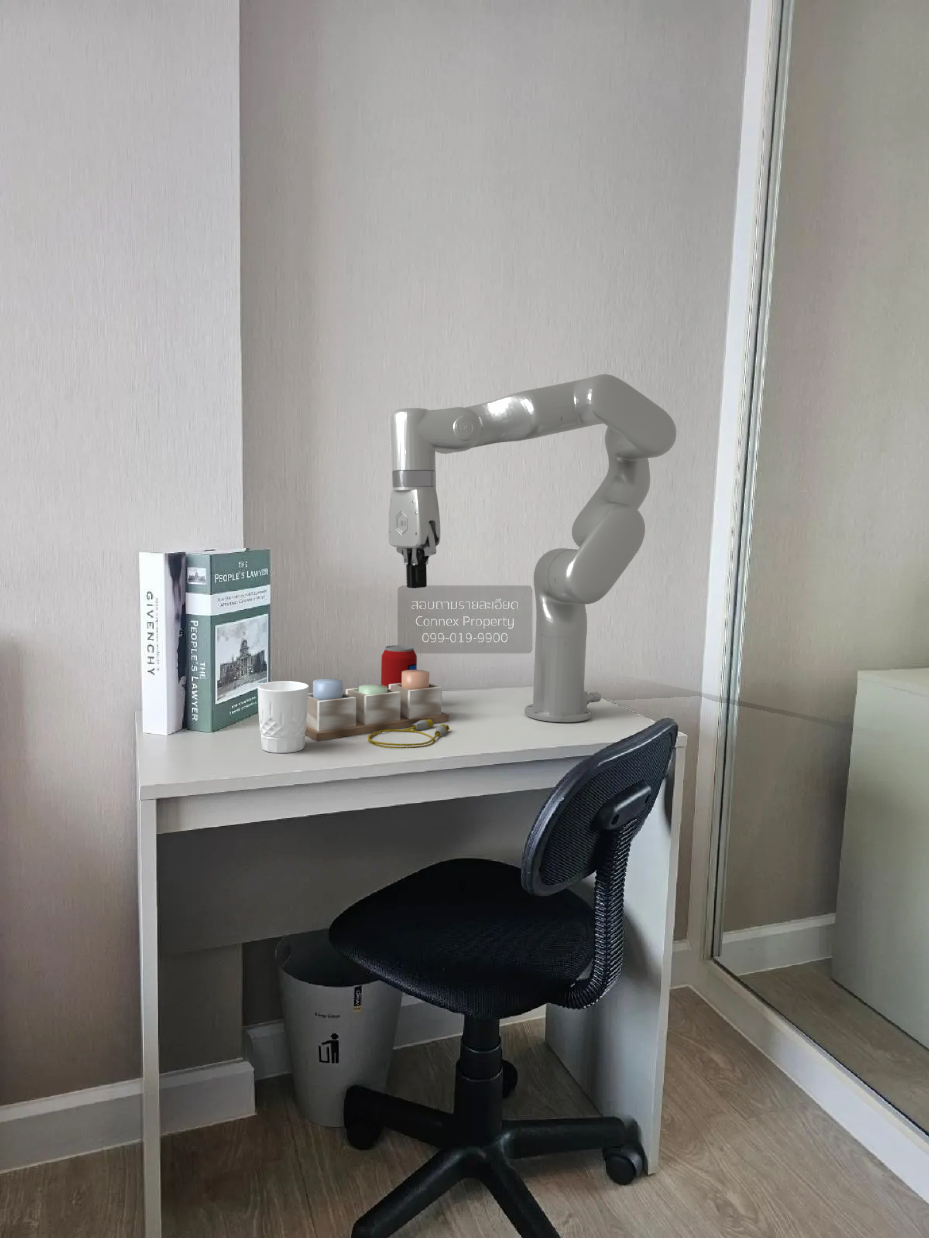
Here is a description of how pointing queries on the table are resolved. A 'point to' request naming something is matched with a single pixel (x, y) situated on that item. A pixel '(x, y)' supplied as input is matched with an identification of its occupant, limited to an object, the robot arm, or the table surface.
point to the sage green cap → (372, 689)
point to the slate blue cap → (327, 689)
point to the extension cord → (417, 726)
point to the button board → (372, 711)
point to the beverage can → (396, 663)
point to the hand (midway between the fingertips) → (416, 587)
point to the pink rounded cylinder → (415, 679)
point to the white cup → (282, 715)
